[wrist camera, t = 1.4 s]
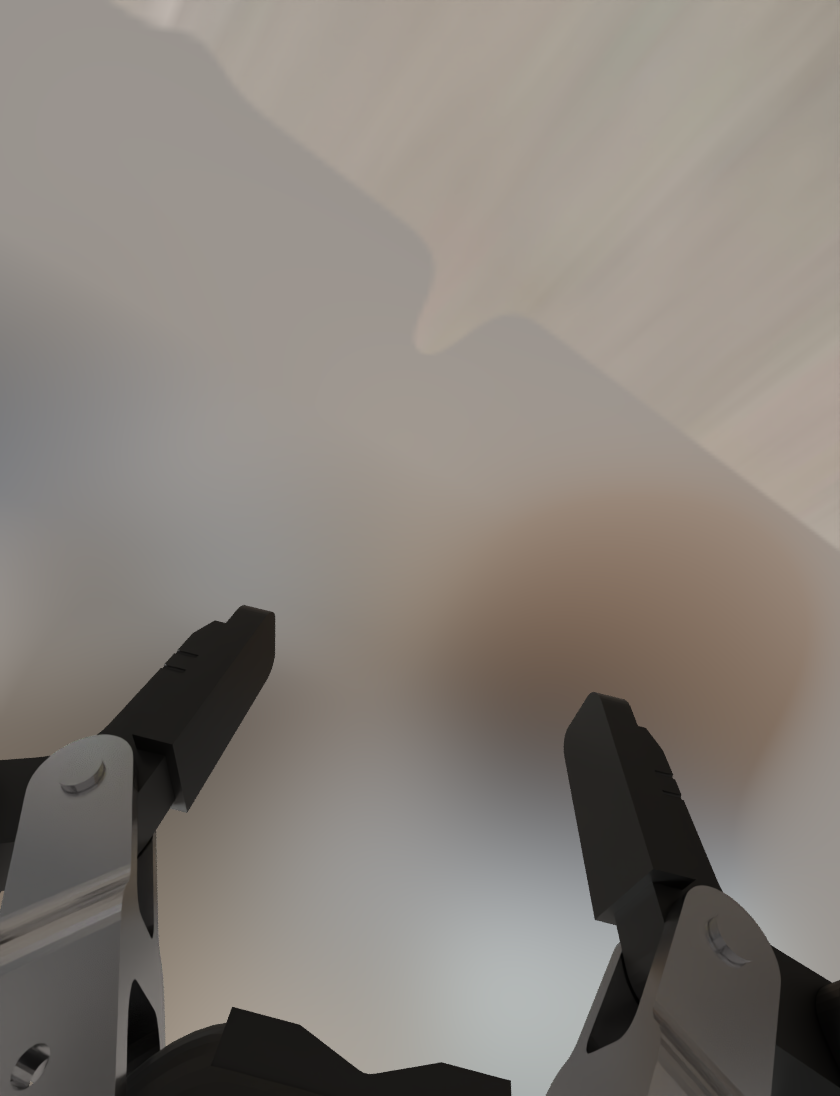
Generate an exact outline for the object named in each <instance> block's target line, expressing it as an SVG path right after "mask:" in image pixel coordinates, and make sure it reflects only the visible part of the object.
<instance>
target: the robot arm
mask: <svg viewBox="0 0 840 1096" xmlns="http://www.w3.org/2000/svg"><path fill="white" fill-rule="evenodd" d="M274 658H275V614H274V613H273V612H270V611H266V610H262V609H258V608H254V607H250V606H246V605H243V606H241V607H239V608H238V609H237V611H236V612H235V613H234V614H233V616H231V618H230V619H229V620H228V621H227V622H226V623H223V622H219V621H213V622H211V623H210V624H208V625H206V626H204V627H203V628H201V629H199V630H198V631H196V632H194V633H193V634H192V635H191V636H190V637H189V638H188V639H187V640H186V641H185V643H184V644H183V645H182V646H181V647H180V648H179V649H178V651H177V653H176V654H173V656H172V657H171V658H170V659H169V660H168V661H167V662H166V663H165V664H164V667H163V668H160V670H159V671H158V672H157V673H156V674H155V675H154V676H153V677H152V678H151V679H150V680H149V681H148V683H147V684H146V685H145V686H144V687H143V688H142V689H141V690H140V691H139V693H137V694H136V696H135V697H134V698H133V699H132V700H131V701H130V702H129V703H128V704H127V705H126V707H125V708H124V709H123V710H122V711H121V712H120V713H119V714H118V715H117V716H116V717H115V719H113V721H112V722H111V723H110V724H109V725H108V726H107V727H106V728H105V729H104V730H102V731H101V732H100V733H99V734H97V735H95V736H90V737H86V738H83V739H80V740H77V741H75V742H72V743H70V744H68V745H67V746H65V747H63V748H61V749H60V750H58V751H57V752H55V753H54V754H52V755H51V756H45V757H37V758H24V759H11V760H0V892H1V891H4V896H3V900H2V905H1V909H0V1096H511V1081H510V1080H506V1079H502V1078H498V1077H494V1076H490V1075H487V1074H483V1073H480V1072H476V1071H472V1070H468V1069H465V1068H460V1067H457V1066H453V1065H449V1064H446V1063H442V1062H441V1063H436V1064H429V1065H423V1066H418V1067H412V1068H406V1069H401V1070H394V1071H388V1072H383V1073H377V1074H366V1073H363V1072H361V1071H359V1070H358V1069H357V1068H355V1067H354V1066H353V1065H351V1064H350V1063H349V1062H347V1061H346V1060H345V1059H344V1058H342V1057H341V1056H340V1055H338V1054H337V1053H336V1052H335V1051H333V1050H332V1049H331V1048H329V1047H328V1046H327V1045H326V1044H324V1043H323V1042H322V1041H320V1040H319V1039H318V1038H316V1037H315V1036H314V1035H312V1034H311V1033H310V1032H309V1031H307V1030H306V1029H305V1028H303V1027H302V1026H301V1025H298V1024H295V1023H291V1022H287V1021H284V1020H280V1019H276V1018H272V1017H269V1016H265V1015H261V1014H257V1013H254V1012H250V1011H246V1010H242V1009H238V1008H235V1007H232V1009H231V1012H230V1014H229V1017H228V1020H227V1023H223V1024H217V1025H212V1026H209V1027H206V1028H203V1029H200V1030H197V1031H194V1032H192V1033H190V1034H188V1035H186V1036H184V1037H182V1038H180V1039H178V1040H176V1041H174V1042H172V1043H171V1044H169V1045H168V1046H166V1047H165V1014H164V986H163V974H162V964H161V957H160V950H159V938H158V900H157V899H158V898H157V897H158V896H157V849H156V829H157V827H158V826H159V824H160V823H161V821H162V820H163V818H164V816H165V815H166V813H167V812H168V810H169V809H170V808H171V809H175V810H178V811H182V812H186V813H187V812H188V810H189V809H190V807H191V805H192V804H193V802H194V800H195V799H196V797H197V795H198V794H199V792H200V790H201V789H202V787H203V785H204V783H205V782H206V780H207V779H208V777H209V775H210V774H211V772H212V770H213V769H214V767H215V765H216V764H217V762H218V760H219V759H220V757H221V755H222V754H223V752H224V750H225V749H226V747H227V745H228V744H229V742H230V740H231V739H232V737H233V735H234V734H235V732H236V730H237V729H238V727H239V725H240V724H241V722H242V720H243V719H244V717H245V715H246V714H247V712H248V710H249V709H250V707H251V705H252V704H253V702H254V700H255V699H256V697H257V695H258V694H259V692H260V690H261V689H262V687H263V685H264V683H265V682H266V680H267V678H268V676H269V674H270V672H271V669H272V666H273V662H274ZM564 756H565V762H566V767H567V772H568V778H569V783H570V789H571V794H572V800H573V805H574V810H575V816H576V820H577V826H578V832H579V836H580V842H581V848H582V853H583V858H584V864H585V869H586V874H587V880H588V885H589V891H590V896H591V901H592V906H593V911H594V918H595V920H598V921H602V922H606V923H610V924H613V925H617V930H618V934H619V939H620V942H619V944H617V946H616V947H615V949H614V952H613V954H612V956H611V959H610V961H609V964H608V966H607V969H606V971H605V974H604V976H603V979H602V981H601V984H600V986H599V989H598V991H597V994H596V996H595V999H594V1002H593V1004H592V1006H591V1009H590V1011H589V1014H588V1017H587V1019H586V1022H585V1024H584V1027H583V1029H582V1032H581V1034H580V1037H579V1039H578V1042H577V1044H576V1046H575V1048H574V1050H573V1052H572V1054H571V1055H570V1057H569V1059H568V1060H567V1062H566V1063H565V1064H564V1065H563V1067H562V1068H561V1069H560V1071H559V1072H558V1074H557V1075H556V1077H555V1079H554V1080H553V1082H552V1084H551V1086H550V1088H549V1090H548V1092H547V1094H546V1096H840V980H839V981H836V982H833V983H831V982H830V981H828V980H826V979H825V978H823V977H822V976H820V975H819V974H817V973H815V972H814V971H812V970H810V969H809V968H807V967H805V966H804V965H802V964H801V963H799V962H797V961H796V960H794V959H792V958H791V957H789V956H787V955H786V954H784V953H782V952H781V951H779V950H778V949H776V948H775V947H773V946H772V945H770V943H769V942H768V940H767V938H766V936H765V935H764V933H763V932H762V930H761V929H760V927H759V926H758V924H757V923H756V922H755V921H754V919H753V918H752V917H751V916H750V915H749V914H748V913H747V911H745V909H744V908H743V907H741V906H740V905H739V904H738V903H737V902H736V901H735V900H733V899H732V898H731V897H730V896H728V895H726V894H725V893H723V891H722V889H721V888H720V886H719V883H718V881H717V879H716V877H715V874H714V872H713V869H712V867H711V865H710V862H709V860H708V857H707V855H706V853H705V850H704V848H703V846H702V843H701V841H700V838H699V836H698V834H697V831H696V829H695V826H694V824H693V821H692V819H691V817H690V814H689V812H688V809H687V807H686V805H685V802H684V800H682V799H681V793H680V790H679V788H678V785H677V783H676V781H675V779H673V778H672V776H673V773H672V771H671V769H670V766H669V764H668V761H667V759H666V757H665V754H664V752H663V750H662V749H661V747H660V746H659V745H658V743H657V742H656V741H655V739H654V738H653V737H652V736H651V734H650V733H649V732H648V730H647V729H646V728H644V727H640V726H638V725H637V723H636V720H635V717H634V715H633V712H632V710H631V707H630V705H629V703H628V702H627V701H626V700H624V699H620V698H616V697H612V696H608V695H603V694H600V693H596V692H592V693H590V694H589V695H588V697H587V698H586V700H585V701H584V703H583V704H582V706H581V708H580V709H579V711H578V712H577V714H576V716H575V717H574V719H573V720H572V722H571V724H570V725H569V727H568V729H567V731H566V734H565V739H564ZM30 1081H32V1082H33V1084H32V1085H31V1086H29V1084H30Z"/></svg>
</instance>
